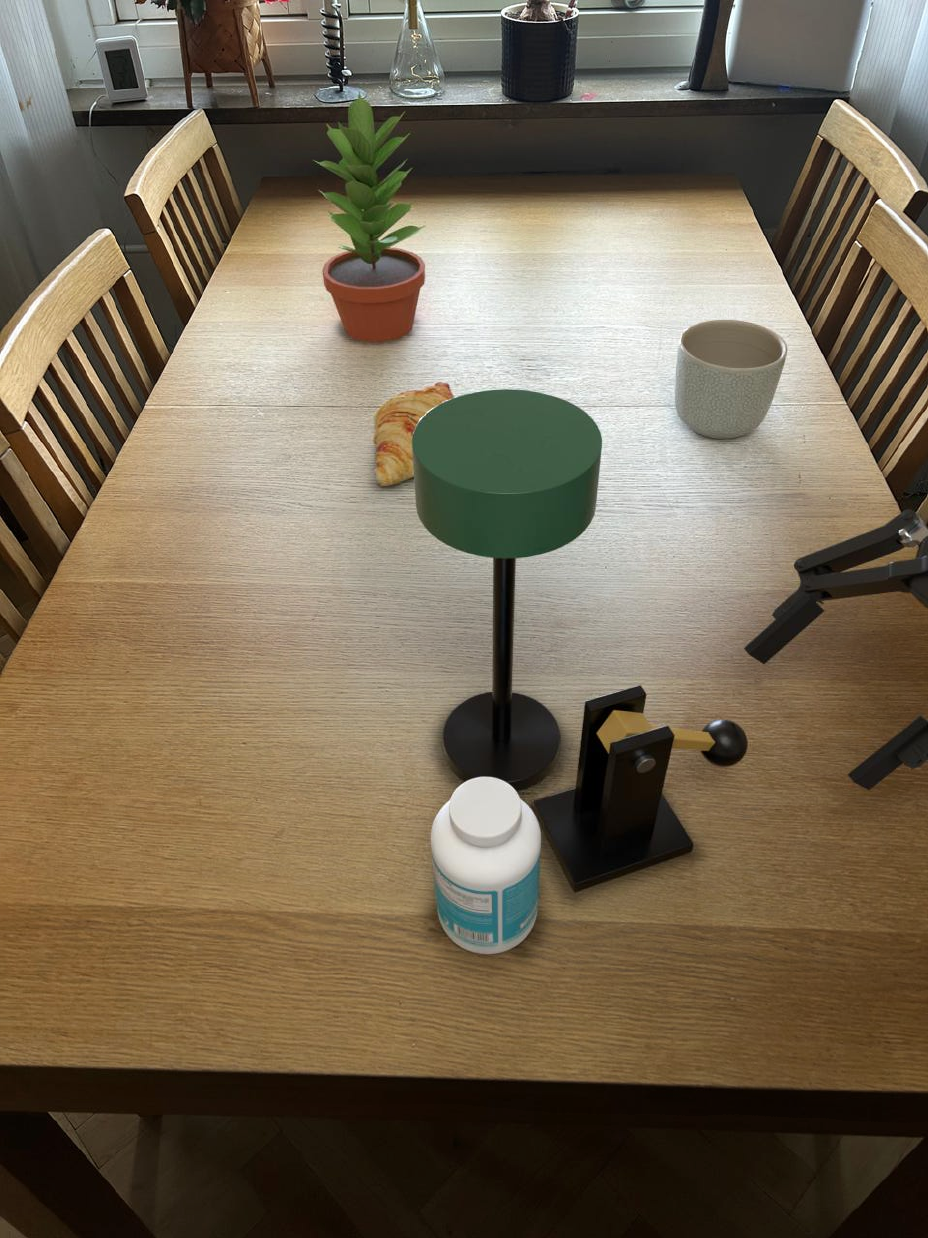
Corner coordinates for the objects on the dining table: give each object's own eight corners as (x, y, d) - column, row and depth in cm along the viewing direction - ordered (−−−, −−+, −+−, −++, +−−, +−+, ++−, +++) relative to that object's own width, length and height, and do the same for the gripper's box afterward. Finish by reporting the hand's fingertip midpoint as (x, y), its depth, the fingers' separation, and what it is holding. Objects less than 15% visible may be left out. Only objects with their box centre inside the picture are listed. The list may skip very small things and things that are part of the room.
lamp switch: (713, 743, 74) (739, 711, 72) (737, 777, 71) (765, 745, 70) (587, 731, 67) (613, 696, 65) (609, 769, 64) (637, 733, 62)
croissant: (408, 522, 108) (436, 478, 102) (333, 477, 107) (356, 429, 101) (463, 424, 122) (490, 381, 117) (398, 383, 121) (422, 337, 115)
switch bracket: (643, 774, 78) (665, 660, 68) (691, 852, 72) (723, 740, 63) (532, 809, 75) (539, 696, 66) (574, 893, 70) (588, 782, 60)
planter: (777, 451, 112) (799, 369, 104) (674, 451, 112) (688, 369, 104) (756, 397, 121) (774, 318, 113) (660, 398, 121) (672, 319, 113)
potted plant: (350, 360, 130) (325, 126, 109) (316, 315, 140) (287, 94, 119) (447, 337, 134) (441, 108, 113) (408, 296, 144) (395, 79, 123)
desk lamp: (594, 778, 77) (636, 468, 56) (459, 821, 75) (447, 511, 53) (538, 679, 86) (555, 375, 64) (413, 714, 83) (388, 408, 61)
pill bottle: (519, 856, 72) (523, 748, 63) (551, 943, 67) (561, 838, 58) (425, 881, 71) (416, 773, 61) (451, 971, 66) (445, 868, 56)
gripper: (1200, 653, 59) (929, 855, 66) (931, 450, 76) (738, 626, 83) (1180, 614, 54) (890, 836, 61) (897, 405, 71) (695, 597, 78)
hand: (802, 716), depth 72 cm, fingers open, 13 cm apart
